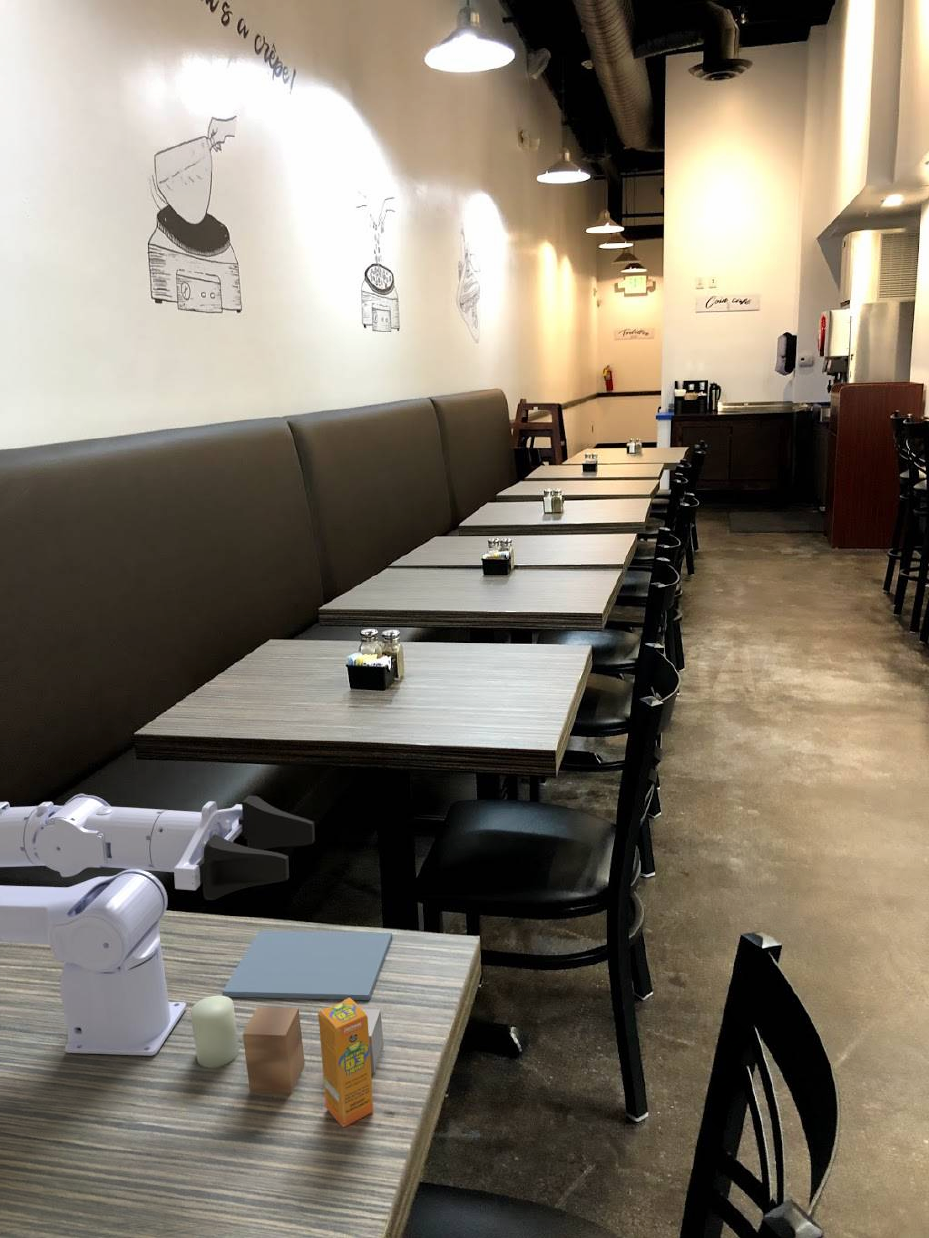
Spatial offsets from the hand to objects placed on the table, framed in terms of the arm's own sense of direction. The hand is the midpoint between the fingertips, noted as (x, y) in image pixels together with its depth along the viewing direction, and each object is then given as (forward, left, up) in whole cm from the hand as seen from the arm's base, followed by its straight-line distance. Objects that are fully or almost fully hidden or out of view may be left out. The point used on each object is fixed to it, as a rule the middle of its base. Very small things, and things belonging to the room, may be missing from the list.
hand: (301, 849), depth 91 cm
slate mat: (-5, +12, -20) cm, 24 cm away
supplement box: (+5, -10, -20) cm, 23 cm away
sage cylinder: (-10, -3, -20) cm, 23 cm away
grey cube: (+4, -3, -20) cm, 21 cm away
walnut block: (-3, -6, -20) cm, 21 cm away
